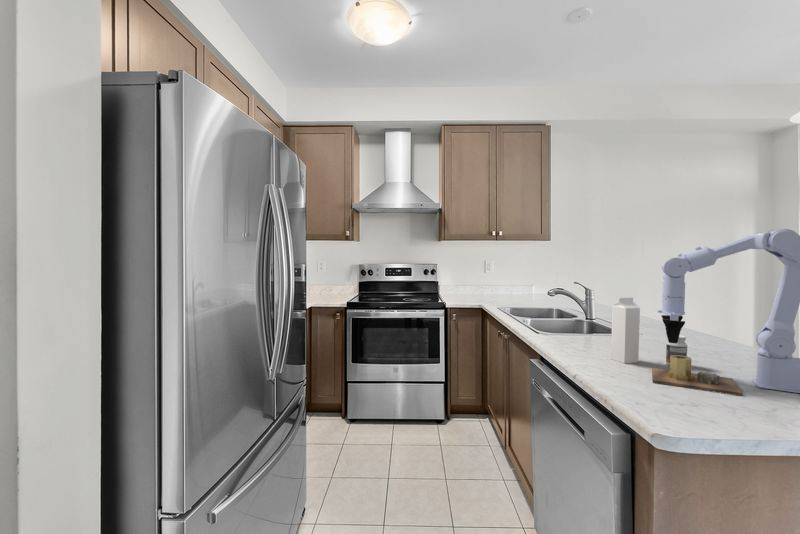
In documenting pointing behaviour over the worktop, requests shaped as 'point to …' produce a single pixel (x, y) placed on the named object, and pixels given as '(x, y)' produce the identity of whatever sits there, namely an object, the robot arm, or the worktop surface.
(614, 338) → the milk
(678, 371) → the gear
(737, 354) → the worktop surface
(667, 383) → the carrier plate
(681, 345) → the pill bottle
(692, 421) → the worktop surface
